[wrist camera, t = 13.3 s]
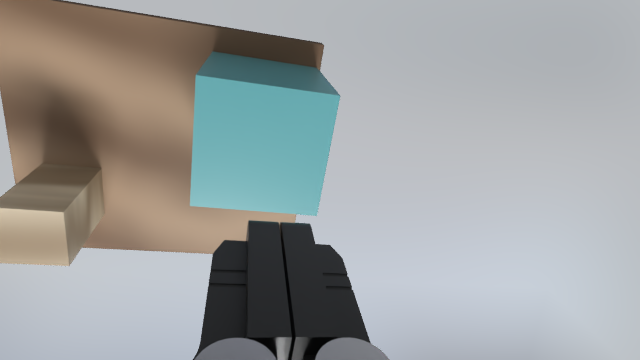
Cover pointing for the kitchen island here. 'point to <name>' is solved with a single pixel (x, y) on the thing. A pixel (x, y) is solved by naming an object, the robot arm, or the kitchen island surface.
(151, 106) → the board
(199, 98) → the teal foam cube
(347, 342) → the robot arm
